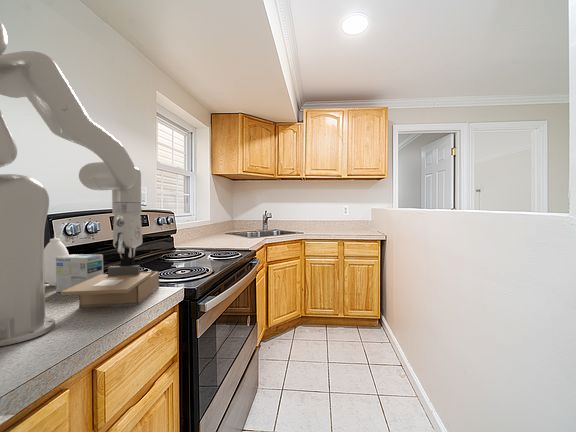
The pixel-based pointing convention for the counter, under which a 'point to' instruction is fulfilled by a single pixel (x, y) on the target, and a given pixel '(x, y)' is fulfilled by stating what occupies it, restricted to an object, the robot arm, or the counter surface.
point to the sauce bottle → (53, 258)
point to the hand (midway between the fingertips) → (127, 270)
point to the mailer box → (122, 295)
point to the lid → (110, 281)
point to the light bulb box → (76, 269)
